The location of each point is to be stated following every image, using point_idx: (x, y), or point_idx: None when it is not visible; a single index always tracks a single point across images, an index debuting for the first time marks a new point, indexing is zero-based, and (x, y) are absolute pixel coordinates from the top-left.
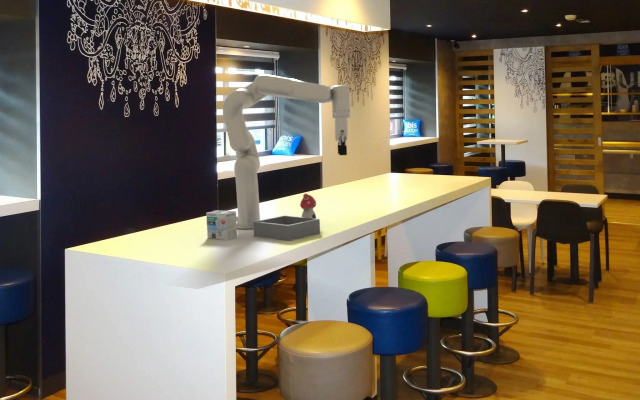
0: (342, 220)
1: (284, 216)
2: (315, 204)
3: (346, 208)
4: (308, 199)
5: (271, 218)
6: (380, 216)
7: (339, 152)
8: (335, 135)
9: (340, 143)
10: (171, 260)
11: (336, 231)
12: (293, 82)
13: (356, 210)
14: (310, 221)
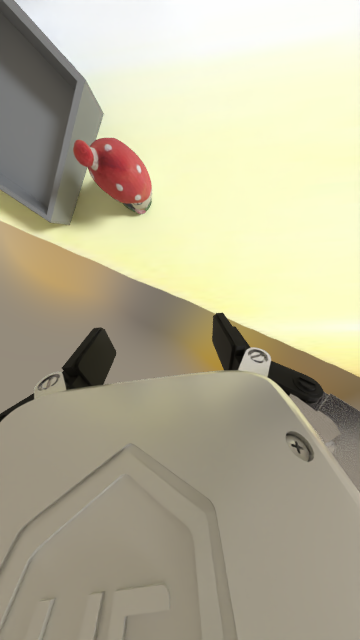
0: (202, 260)
1: (78, 83)
2: (119, 201)
3: (325, 261)
4: (93, 171)
5: (5, 3)
6: None
7: (88, 336)
8: (49, 473)
9: (39, 394)
10: None
11: (97, 255)
12: None
13: (292, 279)
14: (16, 199)
